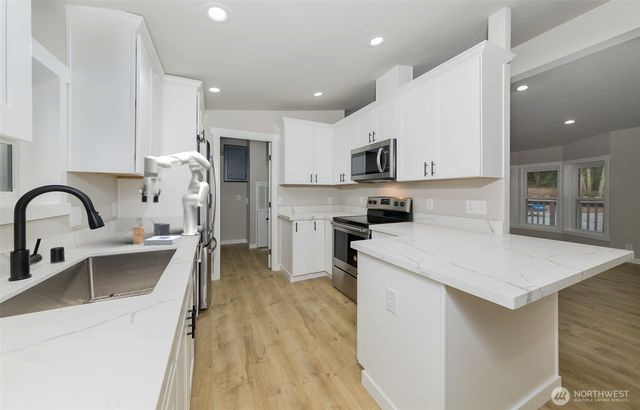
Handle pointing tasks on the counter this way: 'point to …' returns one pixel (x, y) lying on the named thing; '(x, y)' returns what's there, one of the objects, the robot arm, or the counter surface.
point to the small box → (161, 229)
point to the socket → (162, 240)
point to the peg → (138, 235)
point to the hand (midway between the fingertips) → (150, 202)
